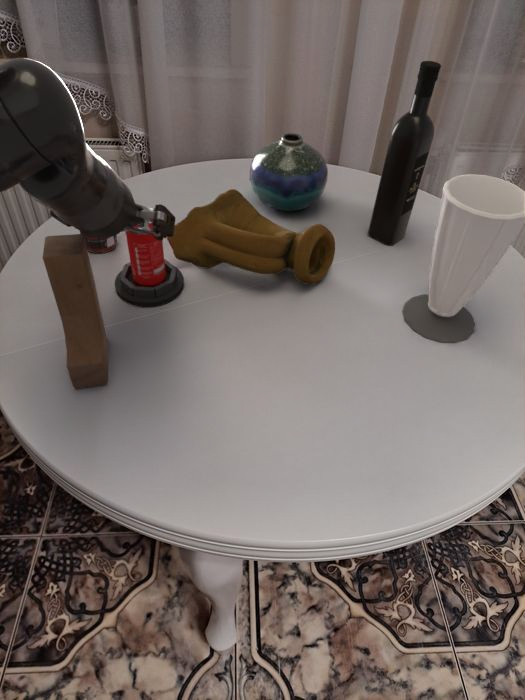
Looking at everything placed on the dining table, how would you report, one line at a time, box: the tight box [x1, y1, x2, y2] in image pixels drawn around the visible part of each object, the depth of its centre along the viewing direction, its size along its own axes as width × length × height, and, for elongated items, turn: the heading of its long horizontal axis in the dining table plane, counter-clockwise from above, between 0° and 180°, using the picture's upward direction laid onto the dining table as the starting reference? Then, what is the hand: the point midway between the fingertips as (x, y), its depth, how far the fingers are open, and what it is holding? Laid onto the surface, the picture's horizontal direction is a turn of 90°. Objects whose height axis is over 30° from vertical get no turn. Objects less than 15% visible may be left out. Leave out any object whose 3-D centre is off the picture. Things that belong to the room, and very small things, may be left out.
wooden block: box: [42, 233, 109, 390], centre depth 64 cm, size 9×4×18 cm, turn 12°
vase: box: [249, 132, 329, 212], centre depth 100 cm, size 15×15×13 cm
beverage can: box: [125, 206, 166, 287], centre depth 78 cm, size 5×5×12 cm
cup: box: [402, 173, 525, 344], centre depth 74 cm, size 12×12×22 cm
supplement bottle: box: [79, 231, 118, 254], centre depth 86 cm, size 6×6×11 cm
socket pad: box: [114, 258, 185, 308], centre depth 82 cm, size 11×11×2 cm
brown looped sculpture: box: [166, 188, 336, 285], centre depth 84 cm, size 18×13×22 cm
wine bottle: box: [367, 60, 442, 246], centre depth 87 cm, size 6×6×30 cm
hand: (130, 230), depth 70 cm, fingers open, 8 cm apart
